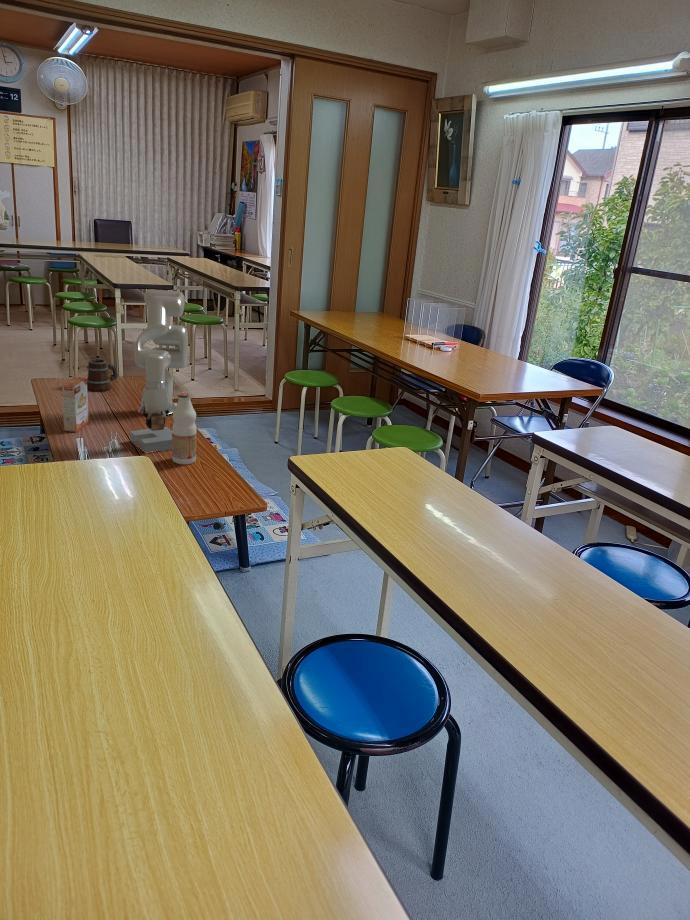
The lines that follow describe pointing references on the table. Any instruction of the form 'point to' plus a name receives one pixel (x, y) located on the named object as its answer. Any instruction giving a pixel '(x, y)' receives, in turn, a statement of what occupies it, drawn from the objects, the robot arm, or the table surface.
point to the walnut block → (157, 422)
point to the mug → (99, 375)
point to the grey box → (152, 439)
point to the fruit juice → (184, 431)
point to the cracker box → (75, 404)
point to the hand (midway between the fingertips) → (155, 426)
